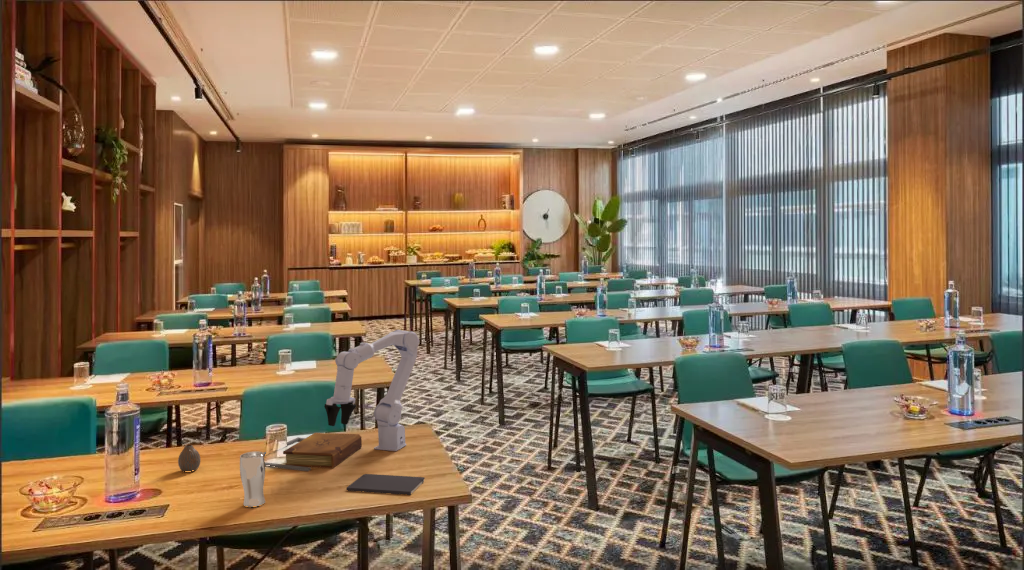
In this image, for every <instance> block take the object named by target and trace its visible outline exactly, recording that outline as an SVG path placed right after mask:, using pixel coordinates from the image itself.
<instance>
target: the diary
mask: <svg viewBox="0 0 1024 570" xmlns="http://www.w3.org/2000/svg"><path fill="white" fill-rule="evenodd" d="M304 438H305V439H304V440H302V441H297V442H296V443H295V444H294V445H293V444H292V445H291V446H290V447H288V448H287V449H285V450H283V451H282V454H283V455H285V463H284V465H293V466H302V467H310V468H313V469H314V468H315V469H317V468H318V469H319V468H320V469H334V468H335V467H336V466H338V465H339V464H341V463H342V462H343V461H345V460H346V459H348V458H349V457H350V456H352V455H353V454H354V453H356V452H357V451H359V450H360V449H361V448H362V447H363V446H362V445H363V443H362V436H361V435H360V433H337V432H336V433H335V432H331V433H330V432H314V433H312V434H311V435H308V436H307V437H304Z"/></svg>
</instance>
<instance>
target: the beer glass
mask: <svg viewBox="0 0 1024 570" xmlns="http://www.w3.org/2000/svg"><path fill="white" fill-rule="evenodd" d="M265 462H266V461H265V456H264V452H263V451H257V450H256V451H255V450H254V451H248V452H244V453H242V454H240V456H239V473H240V474H239V475H240V480H241V481H240V482H241V483H242V484H241V485H242V487H243V488H242V489H243V493H244V497H243V498H244V499H243V505H244V506H248V507H253V506H259V505H262V504H264V503H265V504H266V499H265V498H266V497H265V496H264V485H265V477H266V466H265ZM265 504H264V505H265ZM244 506H243V507H244ZM262 506H263V505H262Z"/></svg>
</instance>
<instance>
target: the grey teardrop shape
mask: <svg viewBox="0 0 1024 570" xmlns="http://www.w3.org/2000/svg"><path fill="white" fill-rule="evenodd" d="M177 464H178V467H179V469H180V471H182V472H183V471H192V470H196V469H197V470H198V469H199V467H200V465H201V456H200V453H199V451H198V450H197V449H196V448H195V447H194V445H193V444H185V445H184V446H183V448H182V451H181V452H180V453H179V455H178V459H177ZM197 470H196V471H197Z"/></svg>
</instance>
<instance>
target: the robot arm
mask: <svg viewBox="0 0 1024 570" xmlns="http://www.w3.org/2000/svg"><path fill="white" fill-rule="evenodd" d="M419 344H420V339H419V337H418V334H417V333H416V332H414V331H410V330H409V331H408V330H402V329H395V330H393V331H391V332H389V333H388V334H386V335H384V336H383V337H381V338H379V339H377V340H374V341H373V342H371V343H368V342H363V341H362V342H360V343H359V345H358V346H355V347H353V348H352V347H351V348H349V349H348V351H340V352H339V354H338V355H337V356H336V358H334V359H335V360H334V361H335V364H336V378H335V382H334V384H335V385H334V390H333V392H334V393H333V396H331V397H330V398H327V399H326V402H325V404H324V409H325V411H326V416H327V423H328V426H331V427H335V425H336V422H337V417H338V415H339V412H340V414H341V416H340V417H341V418H340V423H341V424H342V425H348V423H349V420H350V418H351V415H352V414H353V412H354V410H355V409H356V407H357V405H356V398H355V397H351V395H352V394H351V393H352V387H353V379H354V373H355V369H356V368H357V367H358V365H359V364H361V363H362V362H364V361H367V360H368V359H369V360H370V358H373V357H374V355H375V353H376V352H378V351H381V350H384V349H386V348H388V347H390V346H394V347H395V349H396V350H397V351H398V352H399V354H400V357H401V358H400V360H399V362H398V364H397V367H396V370H395V372H394V375H393V378H392V380H391V382H390V384H389V385H390V386H389V388H388V390H387V394H385V396H384V397H383V398H381V399H380V400H379V403H378V404H377V405H376V406H375V408H374V409H373V417H374V419H375V420H376V423H377V435H378V437H377V439H378V445H376V446H374V447H373V449H374V450H381V451H390V452H391V451H392V452H397V451H399V450H401V449H402V448H404V447H406V446H407V443H406V429H405V426H404V424H400V423H399V422H400V420H401V418H402V410H403V405H402V402H401V399H402V396H403V394H404V391H405V389H406V386H407V384H408V382H409V379H410V376H411V373H412V371H413V368H414V365H416V364H415V363H416V360H417V358H418V347H419ZM340 410H341V411H340Z"/></svg>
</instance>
